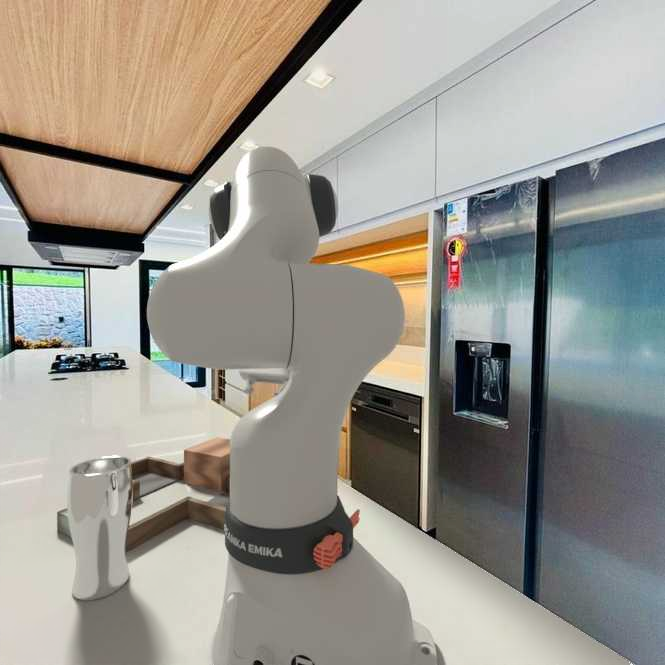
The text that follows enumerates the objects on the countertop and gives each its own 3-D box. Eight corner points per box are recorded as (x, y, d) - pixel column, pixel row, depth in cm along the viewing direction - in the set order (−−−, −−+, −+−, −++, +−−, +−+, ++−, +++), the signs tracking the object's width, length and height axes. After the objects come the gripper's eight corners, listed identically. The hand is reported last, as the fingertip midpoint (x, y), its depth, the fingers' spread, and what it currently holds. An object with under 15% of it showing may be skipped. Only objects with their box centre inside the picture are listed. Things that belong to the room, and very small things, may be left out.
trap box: (301, 484, 76) (301, 469, 76) (164, 580, 47) (164, 556, 47) (183, 456, 92) (183, 444, 92) (25, 515, 63) (25, 498, 63)
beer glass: (131, 559, 51) (130, 452, 51) (135, 589, 45) (135, 468, 45) (69, 577, 47) (69, 461, 47) (65, 612, 42) (65, 480, 41)
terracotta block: (252, 474, 82) (252, 442, 82) (221, 492, 73) (221, 457, 73) (217, 467, 86) (217, 437, 86) (183, 483, 77) (183, 449, 77)
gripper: (248, 344, 104) (224, 384, 96) (311, 347, 95) (291, 391, 87) (258, 359, 109) (236, 398, 100) (319, 362, 100) (300, 406, 91)
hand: (262, 394), depth 93 cm, fingers open, 8 cm apart
